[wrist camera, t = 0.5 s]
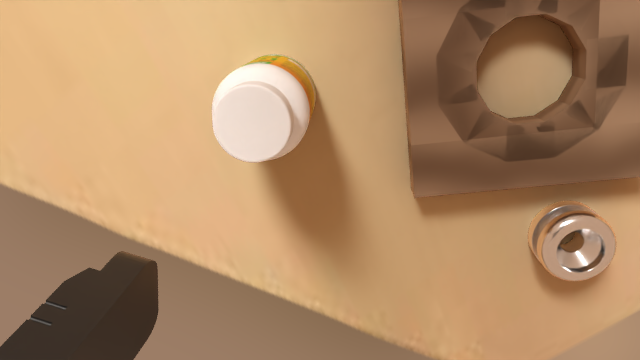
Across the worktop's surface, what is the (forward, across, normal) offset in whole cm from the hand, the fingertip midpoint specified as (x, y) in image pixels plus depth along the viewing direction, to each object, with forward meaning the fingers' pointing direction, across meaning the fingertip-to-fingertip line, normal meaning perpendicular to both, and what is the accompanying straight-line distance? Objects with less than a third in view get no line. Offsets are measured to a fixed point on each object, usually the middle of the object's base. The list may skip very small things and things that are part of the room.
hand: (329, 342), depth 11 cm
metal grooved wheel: (+26, -13, +12) cm, 31 cm away
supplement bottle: (+24, +8, +6) cm, 26 cm away
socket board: (+27, -7, +2) cm, 28 cm away
